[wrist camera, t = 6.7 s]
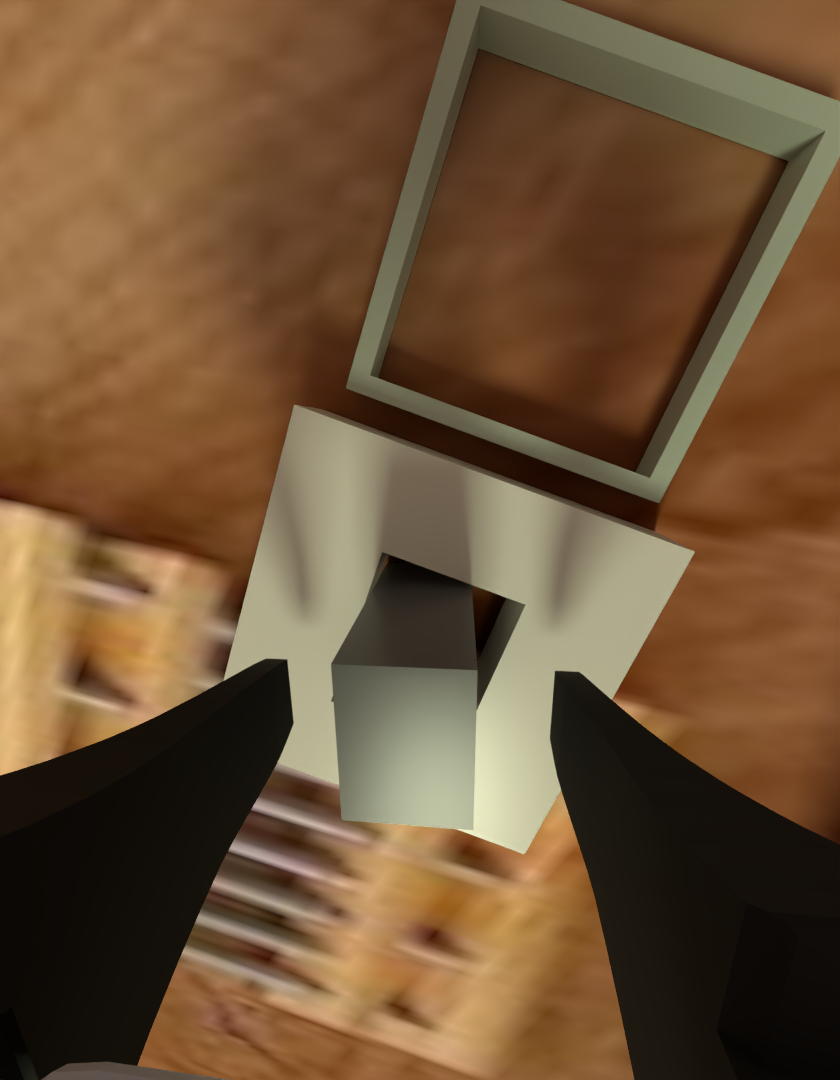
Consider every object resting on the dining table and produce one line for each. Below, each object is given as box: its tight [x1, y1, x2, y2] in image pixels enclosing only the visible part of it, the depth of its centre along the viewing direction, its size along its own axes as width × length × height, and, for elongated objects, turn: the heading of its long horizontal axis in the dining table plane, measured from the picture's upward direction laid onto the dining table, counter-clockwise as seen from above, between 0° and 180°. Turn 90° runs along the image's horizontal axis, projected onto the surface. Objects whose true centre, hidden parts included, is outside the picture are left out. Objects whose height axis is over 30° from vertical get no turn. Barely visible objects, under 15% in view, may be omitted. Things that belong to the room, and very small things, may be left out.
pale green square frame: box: [346, 0, 840, 503], centre depth 12 cm, size 10×10×1 cm
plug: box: [331, 563, 478, 830], centre depth 12 cm, size 3×4×7 cm
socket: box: [224, 405, 695, 854], centre depth 15 cm, size 12×12×2 cm
